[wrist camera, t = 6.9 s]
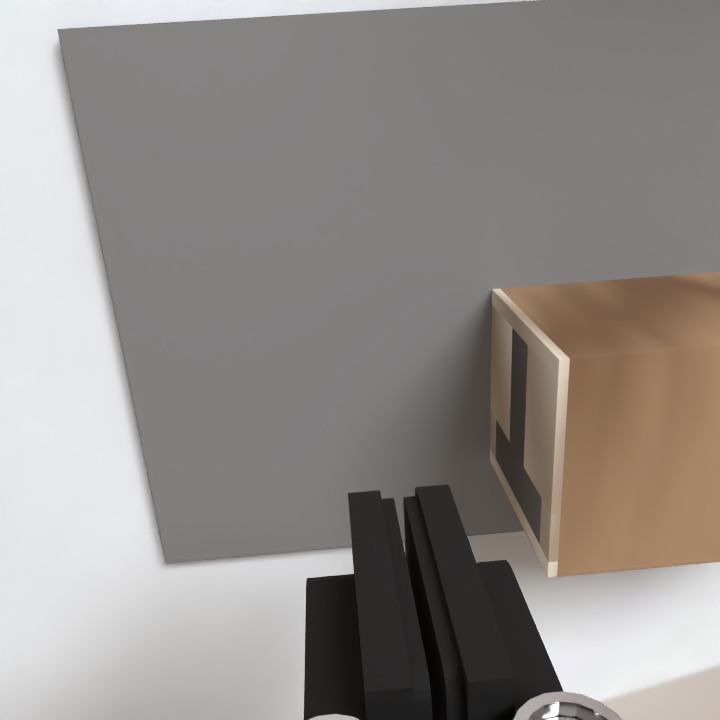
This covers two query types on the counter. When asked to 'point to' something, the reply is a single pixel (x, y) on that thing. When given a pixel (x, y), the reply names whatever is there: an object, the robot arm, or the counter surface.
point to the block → (610, 420)
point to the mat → (372, 234)
